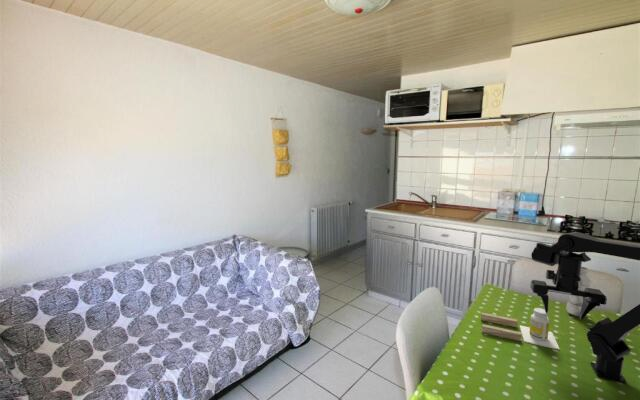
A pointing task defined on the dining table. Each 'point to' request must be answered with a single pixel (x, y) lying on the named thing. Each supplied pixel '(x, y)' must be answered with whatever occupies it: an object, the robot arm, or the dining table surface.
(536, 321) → the supplement bottle
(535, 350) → the dining table surface
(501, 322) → the wooden lane
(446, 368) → the dining table surface
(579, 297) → the plastic bottle
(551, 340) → the white square plate
